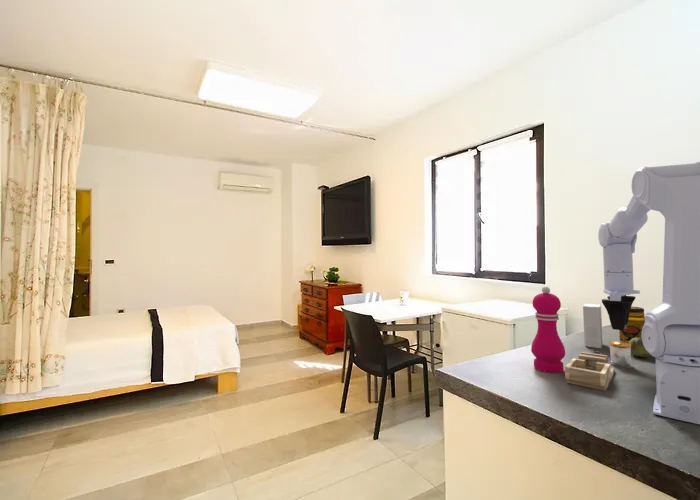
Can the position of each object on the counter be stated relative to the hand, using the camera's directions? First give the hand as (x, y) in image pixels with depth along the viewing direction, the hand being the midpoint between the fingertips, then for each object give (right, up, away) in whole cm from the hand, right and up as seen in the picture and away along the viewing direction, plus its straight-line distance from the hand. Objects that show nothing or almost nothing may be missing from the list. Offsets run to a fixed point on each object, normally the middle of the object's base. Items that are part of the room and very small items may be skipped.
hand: (620, 326), depth 85 cm
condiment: (+14, -10, +13) cm, 21 cm away
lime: (+10, -10, +6) cm, 15 cm away
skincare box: (+6, -10, +18) cm, 21 cm away
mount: (-12, -10, -7) cm, 17 cm away
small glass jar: (0, -9, 0) cm, 9 cm away
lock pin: (-8, -8, -3) cm, 12 cm away
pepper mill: (-18, -10, -1) cm, 21 cm away
